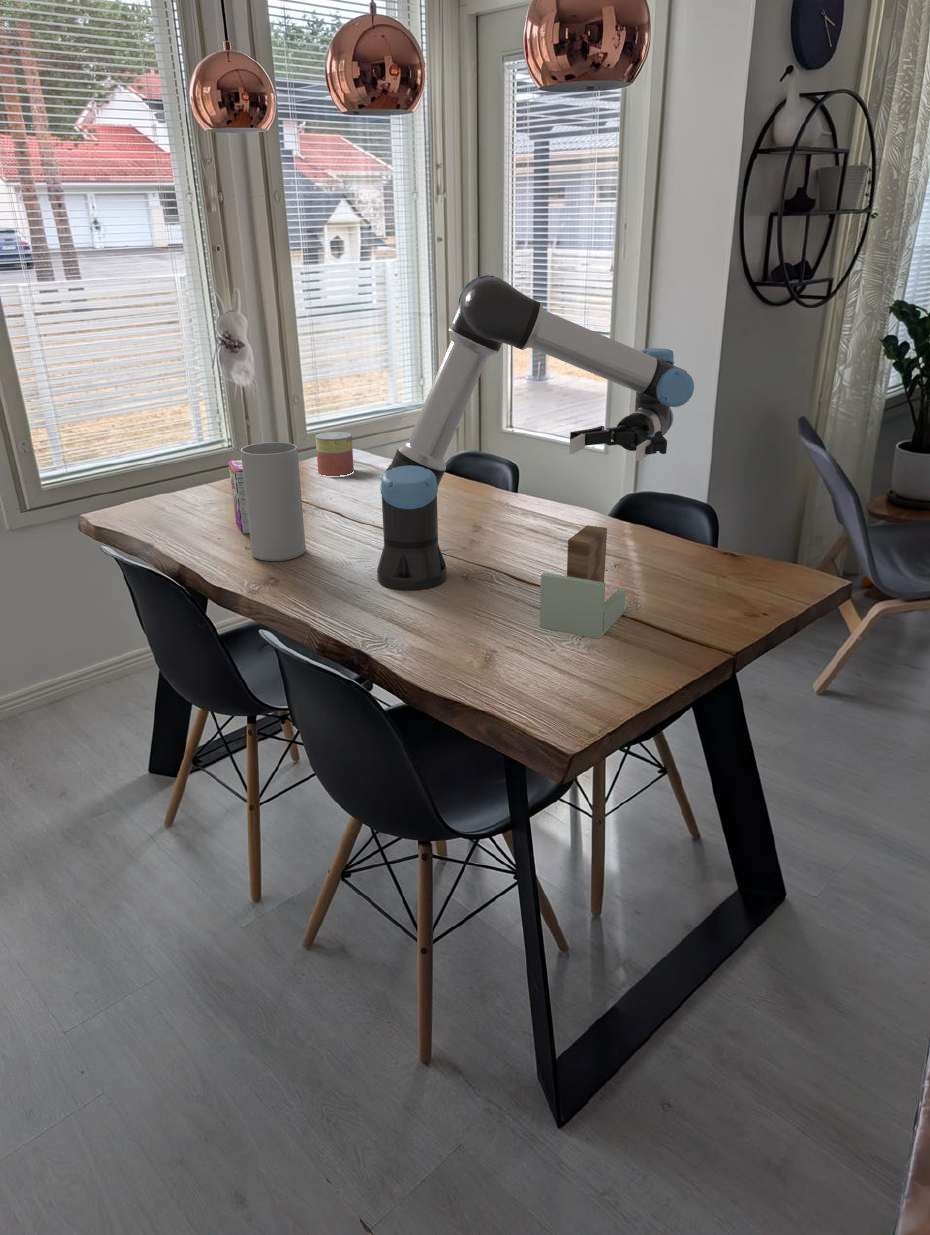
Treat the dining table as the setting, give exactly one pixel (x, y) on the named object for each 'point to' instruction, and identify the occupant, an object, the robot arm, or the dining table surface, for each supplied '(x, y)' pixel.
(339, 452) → the canned food
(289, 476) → the cylinder vase
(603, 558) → the walnut block
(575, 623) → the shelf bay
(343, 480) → the dining table surface
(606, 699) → the dining table surface
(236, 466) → the candy bar box
